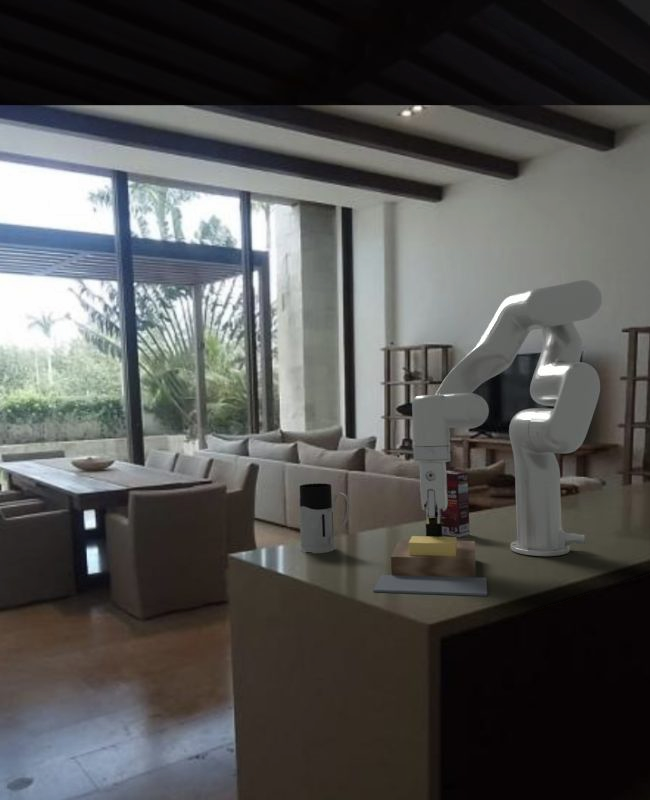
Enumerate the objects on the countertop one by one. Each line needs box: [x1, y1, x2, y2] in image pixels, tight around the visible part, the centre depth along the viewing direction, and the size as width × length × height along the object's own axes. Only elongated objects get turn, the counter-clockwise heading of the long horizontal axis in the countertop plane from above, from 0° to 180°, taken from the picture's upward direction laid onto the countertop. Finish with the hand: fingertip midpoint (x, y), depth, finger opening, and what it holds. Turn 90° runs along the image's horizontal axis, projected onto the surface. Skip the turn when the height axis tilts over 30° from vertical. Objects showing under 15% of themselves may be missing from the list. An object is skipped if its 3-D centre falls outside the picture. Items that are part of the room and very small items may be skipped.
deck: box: [390, 539, 476, 578], centre depth 131 cm, size 16×15×4 cm
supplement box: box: [440, 470, 471, 538], centre depth 163 cm, size 9×5×16 cm, turn 41°
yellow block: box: [409, 535, 458, 556], centre depth 128 cm, size 9×6×2 cm, turn 76°
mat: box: [373, 574, 488, 597], centre depth 119 cm, size 20×10×1 cm, turn 77°
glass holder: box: [298, 482, 351, 554], centre depth 150 cm, size 9×14×15 cm, turn 50°
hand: (434, 542), depth 133 cm, fingers closed
